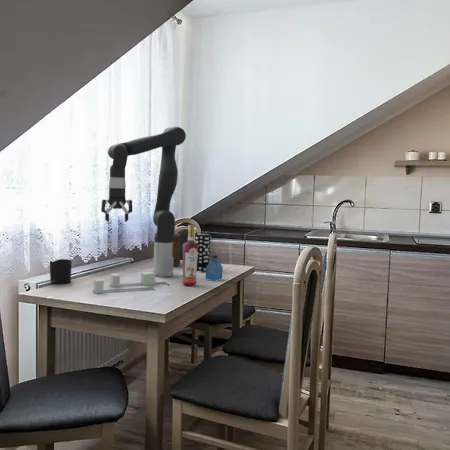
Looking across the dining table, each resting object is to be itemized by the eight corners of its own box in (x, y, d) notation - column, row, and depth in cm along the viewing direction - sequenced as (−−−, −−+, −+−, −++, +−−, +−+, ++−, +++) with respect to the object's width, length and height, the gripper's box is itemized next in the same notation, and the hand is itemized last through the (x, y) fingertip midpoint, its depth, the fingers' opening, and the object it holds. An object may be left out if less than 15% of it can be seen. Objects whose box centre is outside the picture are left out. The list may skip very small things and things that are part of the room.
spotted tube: (207, 272, 258) (208, 235, 257) (192, 271, 260) (193, 234, 258) (211, 270, 267) (212, 234, 265) (196, 269, 268) (197, 233, 267)
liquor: (185, 287, 220) (187, 226, 218) (178, 283, 227) (180, 224, 224) (199, 286, 224) (201, 226, 221) (193, 283, 230) (195, 224, 228)
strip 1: (152, 288, 213) (152, 275, 213) (156, 291, 208) (156, 278, 208) (92, 292, 202) (92, 278, 202) (94, 295, 197) (95, 281, 196)
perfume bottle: (222, 279, 243) (223, 255, 242) (216, 281, 237) (217, 256, 236) (211, 277, 245) (211, 254, 244) (205, 279, 240) (206, 255, 239)
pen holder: (49, 280, 222) (49, 259, 221) (70, 280, 226) (70, 259, 225) (50, 285, 214) (50, 262, 213) (72, 284, 217) (72, 262, 216)
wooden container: (152, 263, 282) (153, 225, 280) (177, 263, 286) (178, 226, 284) (156, 267, 268) (157, 228, 266) (182, 267, 272) (183, 228, 270)
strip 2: (164, 283, 226) (165, 271, 226) (168, 285, 221) (169, 273, 220) (108, 286, 215) (109, 273, 215) (111, 289, 210) (112, 276, 209)
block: (151, 282, 223) (151, 271, 223) (154, 284, 218) (155, 273, 218) (141, 283, 221) (141, 272, 220) (144, 285, 216) (144, 274, 216)
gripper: (130, 187, 233) (129, 220, 234) (100, 186, 227) (99, 221, 228) (134, 187, 226) (133, 222, 228) (103, 187, 220) (103, 222, 221)
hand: (116, 221), depth 228 cm, fingers open, 8 cm apart
